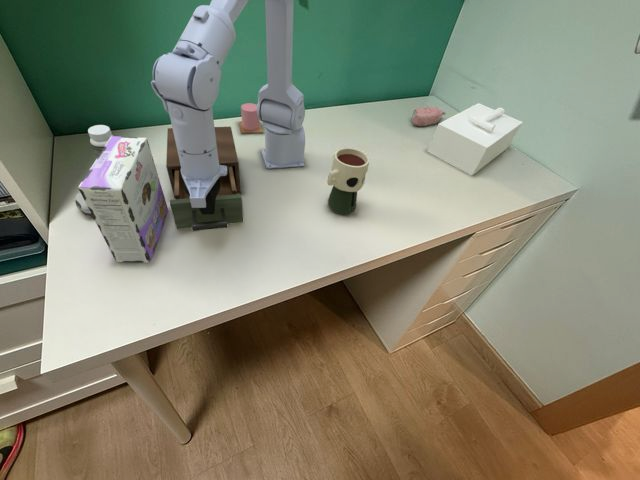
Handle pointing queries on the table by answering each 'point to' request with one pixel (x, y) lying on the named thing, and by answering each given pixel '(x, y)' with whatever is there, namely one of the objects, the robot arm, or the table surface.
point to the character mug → (346, 178)
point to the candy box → (126, 198)
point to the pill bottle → (99, 137)
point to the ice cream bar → (426, 116)
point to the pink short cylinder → (249, 116)
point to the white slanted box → (473, 137)
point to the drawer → (225, 206)
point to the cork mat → (244, 131)
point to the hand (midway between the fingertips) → (208, 211)
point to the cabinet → (224, 149)
